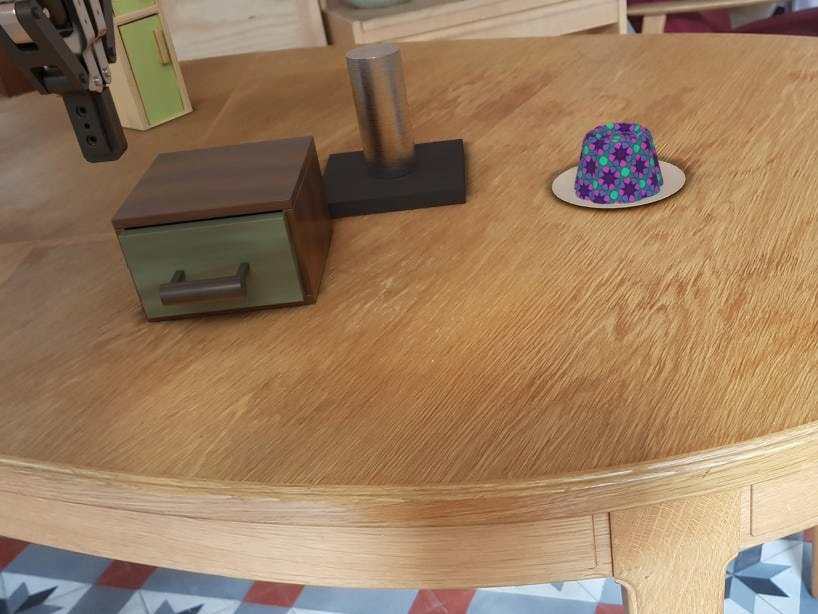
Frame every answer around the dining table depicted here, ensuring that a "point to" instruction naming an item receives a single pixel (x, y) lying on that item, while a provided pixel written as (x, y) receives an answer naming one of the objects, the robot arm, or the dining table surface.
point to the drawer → (213, 264)
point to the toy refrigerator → (145, 66)
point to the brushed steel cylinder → (382, 110)
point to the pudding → (618, 170)
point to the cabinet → (239, 198)
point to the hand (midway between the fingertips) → (107, 157)
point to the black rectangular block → (396, 182)
